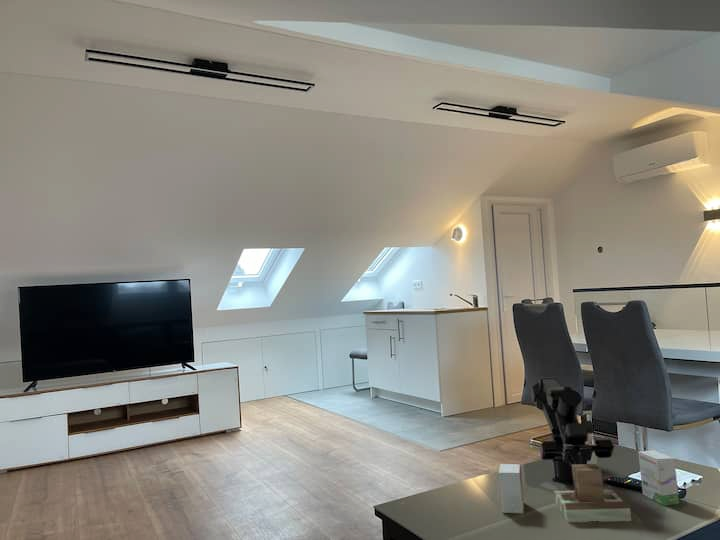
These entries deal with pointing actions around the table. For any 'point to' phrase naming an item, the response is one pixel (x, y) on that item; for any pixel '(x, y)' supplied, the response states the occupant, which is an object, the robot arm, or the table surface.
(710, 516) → the table surface
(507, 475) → the small box
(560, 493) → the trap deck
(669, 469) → the ink box
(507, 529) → the table surface
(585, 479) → the walnut block
